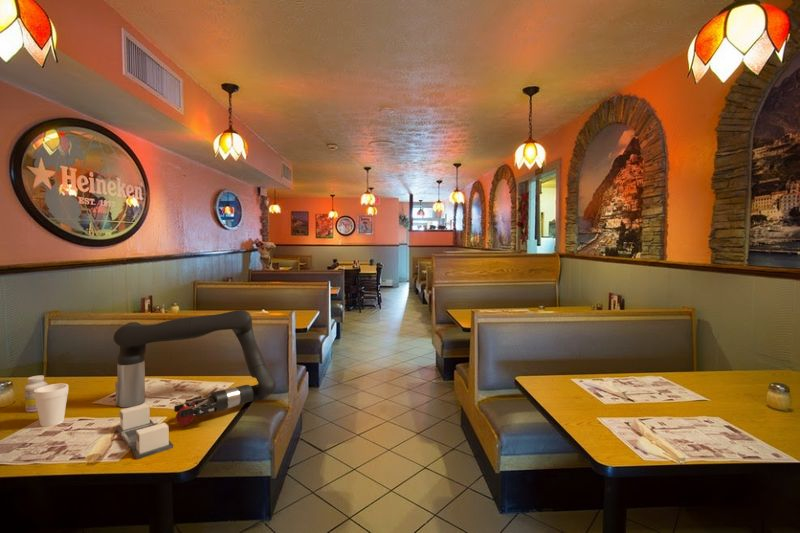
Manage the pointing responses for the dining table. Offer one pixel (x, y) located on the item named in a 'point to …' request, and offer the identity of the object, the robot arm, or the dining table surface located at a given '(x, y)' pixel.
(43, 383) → the supplement bottle
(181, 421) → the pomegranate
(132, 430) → the mounting plate
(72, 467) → the dining table surface
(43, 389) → the foam cup
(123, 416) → the mounted modules
